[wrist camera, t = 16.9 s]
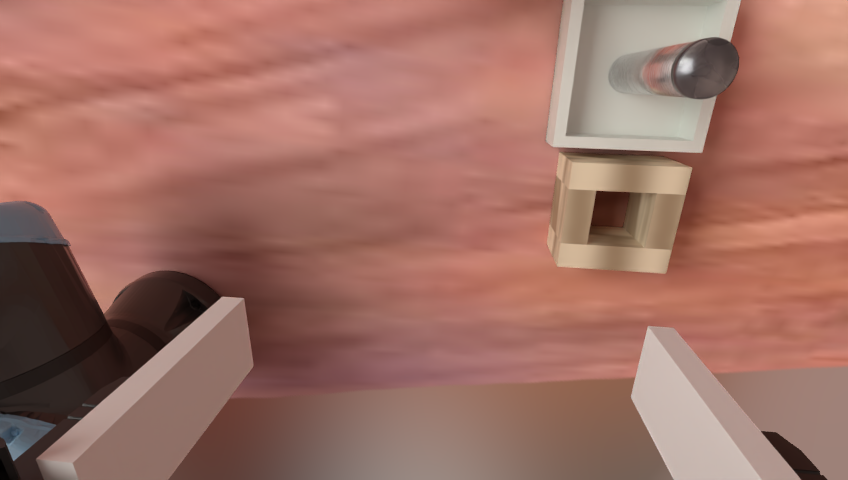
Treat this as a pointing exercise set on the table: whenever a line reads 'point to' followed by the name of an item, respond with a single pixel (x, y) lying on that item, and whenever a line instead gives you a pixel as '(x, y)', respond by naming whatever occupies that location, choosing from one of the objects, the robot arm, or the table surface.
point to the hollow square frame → (644, 221)
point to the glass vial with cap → (677, 70)
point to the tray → (621, 112)
